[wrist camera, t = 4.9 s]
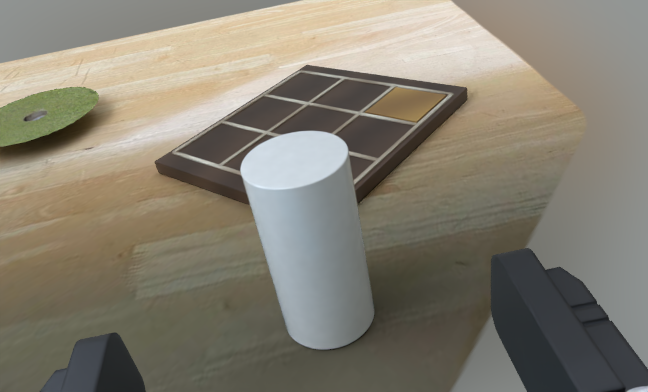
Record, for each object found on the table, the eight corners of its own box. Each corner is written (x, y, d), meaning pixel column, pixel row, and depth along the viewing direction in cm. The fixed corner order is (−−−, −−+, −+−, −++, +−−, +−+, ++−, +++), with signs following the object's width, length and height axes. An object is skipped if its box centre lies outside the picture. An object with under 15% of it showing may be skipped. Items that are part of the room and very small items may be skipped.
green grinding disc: (101, 93, 58) (93, 75, 57) (111, 136, 49) (103, 115, 48) (-15, 129, 55) (-25, 111, 54) (-26, 181, 46) (-39, 160, 45)
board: (467, 99, 44) (467, 86, 43) (326, 232, 33) (323, 217, 32) (308, 74, 53) (306, 63, 52) (158, 172, 42) (153, 160, 42)
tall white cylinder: (392, 301, 28) (370, 141, 23) (338, 364, 25) (300, 200, 20) (321, 272, 30) (288, 123, 25) (267, 327, 28) (217, 173, 23)
